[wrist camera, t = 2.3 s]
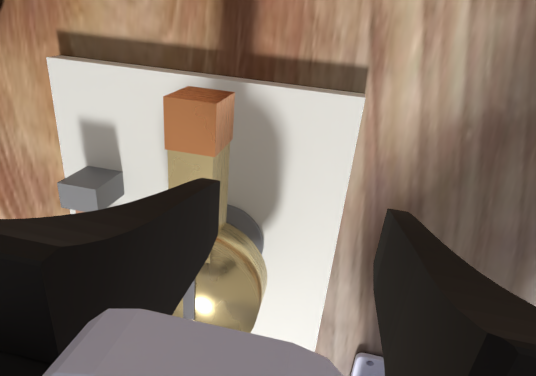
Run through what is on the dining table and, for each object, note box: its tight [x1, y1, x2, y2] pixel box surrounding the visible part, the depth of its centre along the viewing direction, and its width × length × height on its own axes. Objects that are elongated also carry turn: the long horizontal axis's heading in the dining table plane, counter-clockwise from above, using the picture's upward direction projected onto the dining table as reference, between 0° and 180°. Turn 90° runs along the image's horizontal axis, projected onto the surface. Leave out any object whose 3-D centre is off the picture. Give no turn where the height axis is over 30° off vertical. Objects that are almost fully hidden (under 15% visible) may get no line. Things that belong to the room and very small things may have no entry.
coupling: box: [163, 86, 267, 333], centre depth 19 cm, size 14×7×3 cm, turn 175°
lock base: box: [46, 55, 365, 352], centre depth 23 cm, size 18×18×4 cm
